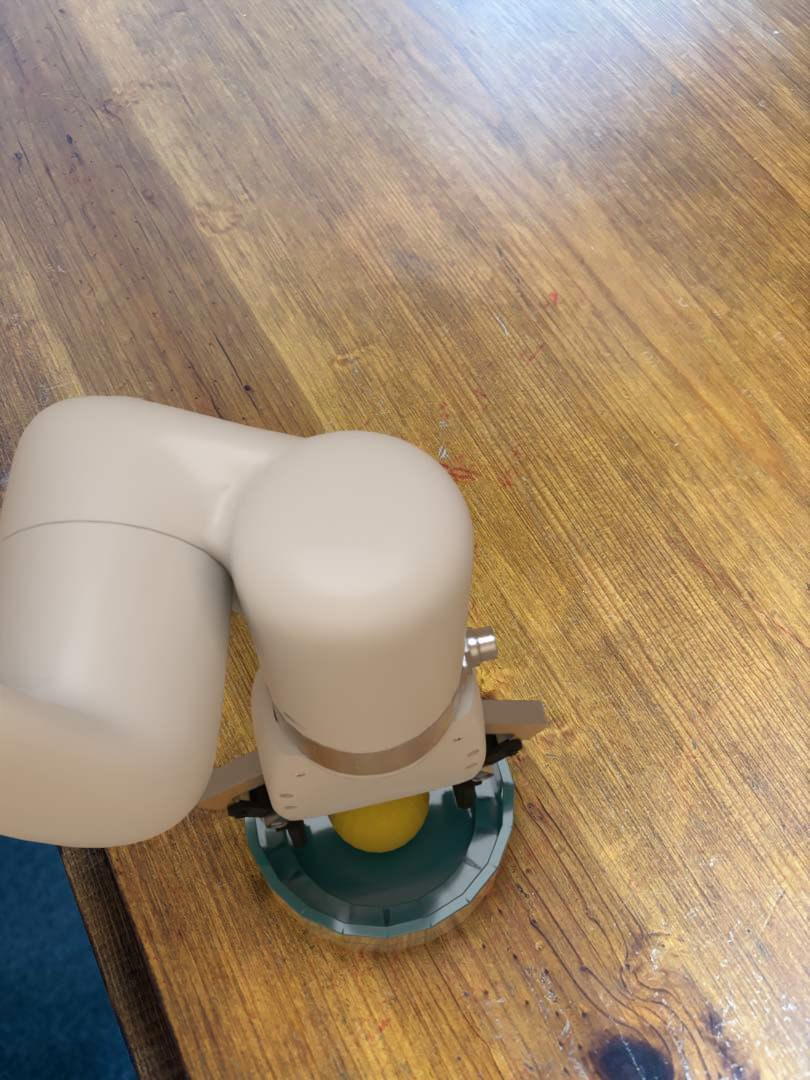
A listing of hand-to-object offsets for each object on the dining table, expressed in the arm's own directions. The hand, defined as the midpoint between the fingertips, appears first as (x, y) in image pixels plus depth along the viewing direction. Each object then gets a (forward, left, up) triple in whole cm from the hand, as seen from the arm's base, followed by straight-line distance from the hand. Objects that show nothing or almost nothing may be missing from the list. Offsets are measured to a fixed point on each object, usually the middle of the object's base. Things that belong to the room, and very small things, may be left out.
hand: (377, 800), depth 57 cm
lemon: (0, 0, -4) cm, 4 cm away
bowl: (0, 0, -4) cm, 4 cm away
